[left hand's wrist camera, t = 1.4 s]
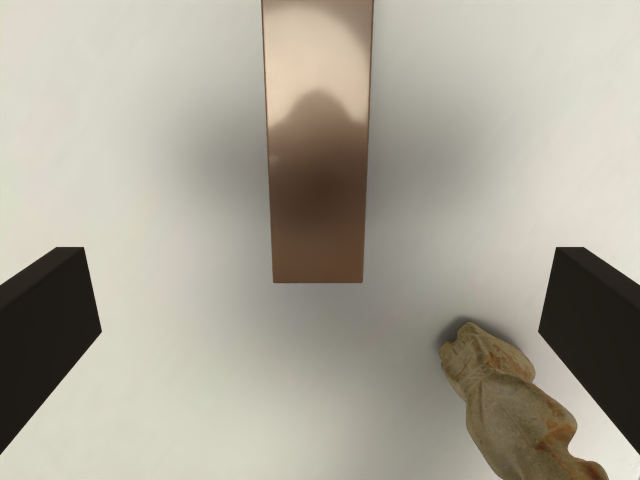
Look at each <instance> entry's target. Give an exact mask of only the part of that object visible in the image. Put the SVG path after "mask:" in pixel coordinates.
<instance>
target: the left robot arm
mask: <svg viewBox="0 0 640 480" xmlns="http://www.w3.org/2000/svg"><path fill="white" fill-rule="evenodd" d="M101 332H102V330H101V325H100V320H99V316H98V311H97V306H96V302H95V297H94V292H93V288H92V283H91V278H90V273H89V269H88V264H87V259H86V255H85V250H84V247H56V248H54V249H53V250H51V251H50V252H48V253H47V254H45V255H44V256H43V257H41V258H40V259H38V260H37V261H35V262H34V263H32V264H31V265H29V266H28V267H26V268H25V269H23V270H22V271H20V272H19V273H18V274H16V275H15V276H13V277H12V278H10V279H9V280H7V281H6V282H4V283H3V284H1V285H0V455H1V453H2V452H3V451H4V450H5V449H6V447H7V446H8V445H9V444H10V443H11V441H12V440H13V439H14V438H15V436H16V435H17V434H18V433H19V432H20V430H21V429H22V428H23V427H24V426H25V424H26V423H27V422H28V421H29V420H30V418H31V417H32V416H33V415H34V413H35V412H36V411H37V410H38V409H39V407H40V406H41V405H42V404H43V403H44V401H45V400H46V399H47V398H48V397H49V395H50V394H51V393H52V392H53V390H54V389H55V388H56V387H57V386H58V384H59V383H60V382H61V381H62V380H63V378H64V377H65V376H66V375H67V374H68V372H69V371H70V370H71V369H72V367H73V366H74V365H75V364H76V363H77V361H78V360H79V359H80V358H81V357H82V355H83V354H84V353H85V352H86V351H87V349H88V348H89V347H90V346H91V344H92V343H93V342H94V341H95V340H96V338H97V337H98V336H99V335H100V334H101ZM538 332H539V334H540V335H541V336H542V337H543V338H544V340H545V341H546V342H547V343H548V344H549V346H550V347H551V348H552V349H553V351H554V352H555V353H556V354H557V355H558V357H559V358H560V359H561V360H562V361H563V363H564V364H565V365H566V366H567V367H568V369H569V370H570V371H571V372H572V374H573V375H574V376H575V377H576V378H577V380H578V381H579V382H580V383H581V384H582V386H583V387H584V388H585V389H586V390H587V392H588V393H589V394H590V395H591V397H592V398H593V399H594V400H595V401H596V403H597V404H598V405H599V406H600V407H601V409H602V410H603V411H604V412H605V413H606V415H607V416H608V417H609V418H610V420H611V421H612V422H613V423H614V424H615V426H616V427H617V428H618V429H619V430H620V432H621V433H622V434H623V435H624V436H625V438H626V439H627V440H628V441H629V443H630V444H631V445H632V446H633V447H634V449H635V450H636V451H637V452H638V453H639V455H640V285H639V284H637V283H636V282H634V281H633V280H631V279H630V278H628V277H627V276H625V275H624V274H622V273H621V272H620V271H618V270H617V269H615V268H614V267H612V266H611V265H609V264H608V263H606V262H605V261H603V260H602V259H600V258H599V257H597V256H596V255H595V254H593V253H592V252H590V251H589V250H587V249H586V248H584V247H556V250H555V255H554V259H553V264H552V269H551V273H550V278H549V283H548V288H547V292H546V297H545V302H544V306H543V311H542V316H541V320H540V325H539V330H538Z"/></svg>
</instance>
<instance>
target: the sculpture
mask: <svg viewBox="0 0 640 480" xmlns="http://www.w3.org/2000/svg"><path fill="white" fill-rule="evenodd" d="M439 355H440V357H441V359H442V363H441V366H442V369H443V371H444V373H445V375H446V377H447V378H448V380H449V382H450V383H451V385H452V386H453V388H454V389H455V391H456V392H457V394H458V395H459V396H460V397H461V398H462V399H463V400H464V401H465V402H466V404H467V410H466V426H467V429H468V432H469V434H470V435H471V437H472V439H473V441H474V442H475V444H476V445H477V447H478V448H479V450H480V452H481V453H482V455H483V456H484V458H485V460H486V461H487V463H488V464H489V466H490V467H491V469H492V470H493V471H494V472H495V473H496V474H497V475H498V476H499V477H500V478H501V479H503V480H609V478H608V476H607V473H606V472H605V470H604V469H603V467H602V466H601V465H600V464H598V463H597V462H593V461H585V460H583V459H580V458H575V457H573V456H572V455H571V454H570V453H569V452H568V450H567V448H568V444H569V442H570V441H571V439H572V438H573V436H574V434H575V433H576V430H577V422H576V420H575V418H574V417H573V415H572V414H571V413H570V412H569V411H568V410H567V409H566V408H564V407H563V406H562V405H561V404H559V403H558V402H557V401H556V400H554V399H553V398H551V397H550V396H548V395H547V394H546V393H544V392H543V391H542V390H541V389H539V388H538V387H537V386H536V385H534V384H532V383H531V382H532V381H533V380H534V378H535V370H534V367H533V365H532V363H531V362H530V360H529V359H528V358H527V357H526V356H525V355H524V354H523V353H522V352H521V351H520V350H518V349H517V348H515V347H514V346H512V345H510V344H508V343H506V342H504V341H503V340H501V339H498V338H496V337H494V336H492V335H490V334H488V333H487V332H485V331H484V330H482V329H481V328H479V327H478V326H477V325H476V324H474V323H472V322H467V323H466V324H464V325H463V326H462V327H461V328H460V329H459V330H458V331H457V339H456V341H455V342H452V341H447V342H446V343H444V344H443V346H442V347H441V348H440V350H439Z"/></svg>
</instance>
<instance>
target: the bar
mask: <svg viewBox="0 0 640 480" xmlns="http://www.w3.org/2000/svg"><path fill="white" fill-rule="evenodd" d="M373 9H374V0H261V10H262V33H263V57H264V80H265V104H266V128H267V151H268V175H269V198H270V222H271V245H272V269H273V282H274V283H362V282H363V265H364V239H365V213H366V188H367V162H368V137H369V111H370V86H371V60H372V34H373Z"/></svg>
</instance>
